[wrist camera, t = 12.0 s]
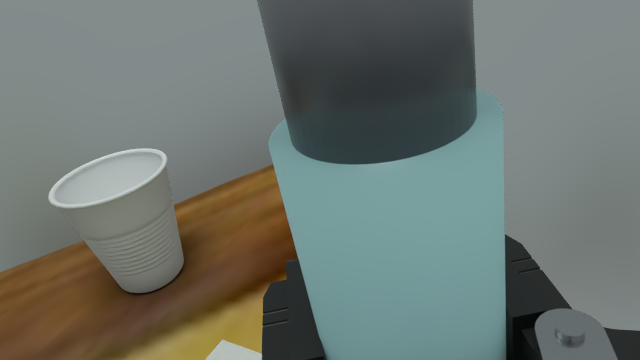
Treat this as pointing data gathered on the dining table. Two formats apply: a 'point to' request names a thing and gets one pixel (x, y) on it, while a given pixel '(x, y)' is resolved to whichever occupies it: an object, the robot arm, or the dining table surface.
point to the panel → (232, 352)
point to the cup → (125, 216)
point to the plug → (391, 176)
